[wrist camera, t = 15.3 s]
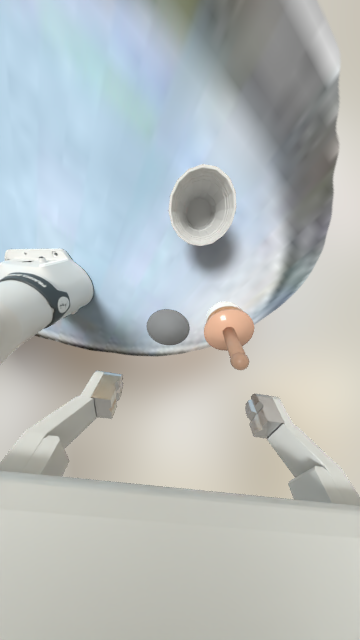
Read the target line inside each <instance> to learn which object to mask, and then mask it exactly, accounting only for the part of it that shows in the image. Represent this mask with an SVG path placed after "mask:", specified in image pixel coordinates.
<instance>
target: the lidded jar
mask: <svg viewBox="0 0 360 640" xmlns="http://www.w3.org/2000/svg"><path fill="white" fill-rule="evenodd" d="M225 309H238V310H241V308H240V307H239V306H237V305H236V304H234V303H232V302H228V301H222V302H218V303H216V304H214V305H213V306H212V307H211V308H210V309H209V311H208V312H207V315H206V322H207V320H208V319H209V318H210V317H211V316H212V315H213V314H215V313H217V312H219V311H221V310H225ZM241 311H242V310H241Z"/></svg>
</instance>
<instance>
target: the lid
mask: <svg viewBox="0 0 360 640" xmlns="http://www.w3.org/2000/svg"><path fill="white" fill-rule="evenodd" d="M253 332H254V324H253V321H252V319H251V318H250V316H249V315H248V314H246V313H245V312H243V311H241V310H238V309H225V310H221V311H219V312H217V313H215V314H213V315H212V316H211V317H210V318H209V319H208V320H207V322H206V324H205V327H204V336H205V339H206V341H207V342H208V343H209V345H211V346H212V347H214V348H216V349H219V350H228V352H229V355H230V358H231V359H230V362H231V365H232V366H233V367H234V368H235V369H237V370H244V369H245V368H247V367H248V365H249V359H248V357H247V355H245V352H244V350H243V348H242V346H243V345H244V344H246V343H247V342H248V341H249V340H250V339H251V337H252V335H253Z"/></svg>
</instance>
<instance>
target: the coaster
mask: <svg viewBox="0 0 360 640" xmlns="http://www.w3.org/2000/svg"><path fill="white" fill-rule="evenodd" d="M147 331H148V333H149V335H150V336H151V338H152V339H153V340H155V341H156V342H158V343H160V344H164V345H175V344H178V343H180V342H182V341H183V340H184V339H185V338H186V337H187V335H188V333H189V324H188V321H187V320H186V318H185V317H184V316H183V315H182V314H181V313H179V312H177V311H174V310H169V309H164V310H159V311H157V312H155V313H154V314H152V315H151V316H150V318H149V320H148V322H147Z"/></svg>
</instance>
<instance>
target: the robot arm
mask: <svg viewBox="0 0 360 640" xmlns="http://www.w3.org/2000/svg"><path fill="white" fill-rule="evenodd" d="M56 253H57V254H58V255H57V254H56ZM92 297H93V285H92V282H91V280H90V278H89V276H88V275H87V273H86V272H85V271H84V270H83V269H82V268H81V267H80V266H79V265H77V264H76V263H75V262H74V261H73V260H72V259H71V258H70V256H69V255H68V254H67V252H66V251H65V250H63V249H60V248H57V249H9V250H6V253H5V261H3V262H0V364H2V362H3V361H4V360H5V359H6V358H7V357H8V356H9V355H10V354H11V353H12V352H14V351H15V350H16V349H17V348H18V347H19V346H21V345H22V344H23V343H25V342H26V341H27V340H29V339H30V338H31V337H32V336H34V335H35V334H37V333H38V332H39V331H41V330H42V329H44V328H47V327H49V326H51V325H53V324H55V323H56V322H57V321H59V320H60V319H62V318H64V317H66V316H67V315H69V314H74V313H76V312H77V311H78V310H79V308H81V307H83V306H85V305H87V304H88V303H89V302H90V301H91V299H92ZM122 379H123V375H121V374H115V373H109V372H103V371H95V372H94V374H93V375H92V377H91V379H90V380H89V382H88V384H87V385H86V387H85V389H84V390H83V392H82V393H81V395H80V396H76V397H75V398H74V399H72V400H70V401H69V402H68V403H66V404H65V405H63V406H61V407H60V408H58V409H57V410H55V411H54V412H53V413H51V414H50V415H48V416H47V417H45V418H44V419H42V420H41V421H39V422H38V423H36V424H35V425H33V426H32V427H30V428H29V429H27V430H26V431H25V432H24V433H23V434H22V436H21V437H20V438H19V439H18V441H17V442H16V443H15V445H14V446H13V447H12V448H11V450H10V451H9V452H8V454H7V455H6V456H5V457H4V459H3V460H2V461H1V463H0V640H360V497H359V495H358V493H357V492H356V490H355V489H354V487H353V486H352V484H351V482H350V481H349V479H348V478H347V476H346V474H345V473H344V471H343V470H342V468H341V467H340V466H339V465H338V464H337V463H335V462H334V461H333V460H332V459H331V458H330V457H329V456H328V455H327V454H326V453H325V452H324V451H323V450H322V449H321V448H320V447H319V446H317V445H316V444H315V443H314V442H313V441H312V440H311V439H310V438H309V437H308V436H307V435H306V434H305V433H304V432H303V431H302V430H301V429H299V428H298V427H297V426H296V425H294V424H293V422H292V421H291V419H290V417H289V415H288V413H287V411H286V409H285V407H284V405H283V404H282V402H281V400H280V399H279V398H278V397H274V396H268V395H260V394H253V395H252V396H251V400H249V401H248V402H247V403H246V414H247V417H248V418H249V419H250V420H251V422H250V427H251V430H252V433H253V436H254V437H260V438H266V439H267V440H268V441H269V443H270V444H271V445H272V447H273V448H274V450H275V451H276V452H277V454H278V455H279V456H280V458H281V459H282V460H283V462H284V463H285V464H286V466H287V467H288V468H289V470H290V471H291V473H292V474H293V475H294V477H295V478H294V479H292V480H291V481H289V483H288V485H289V487H290V490H291V493H292V495H293V498H294V499H284V498H274V497H264V496H254V495H253V496H252V495H244V494H233V493H223V492H213V491H203V490H192V489H182V488H172V487H162V486H152V485H142V484H131V483H121V482H111V481H100V480H90V479H80V478H70V477H62V476H63V473H64V471H65V469H66V467H67V465H68V463H69V459H68V456H67V454H66V452H65V450H64V449H65V448H66V447H67V446H68V445H69V444H70V443H71V442H72V441H73V440H74V439H75V438H76V437H77V436H78V435H79V434H81V432H83V431H84V430H85V428H87V427H88V426H89V425H90V424H91V423H92V422H93V421H94V420H95V419H96V417H100V418H110V419H111V418H113V415H114V412H115V410H116V407H117V405H116V402H117V401H118V400H119V399H120V396H121V393H122V388H123V383H122Z"/></svg>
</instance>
